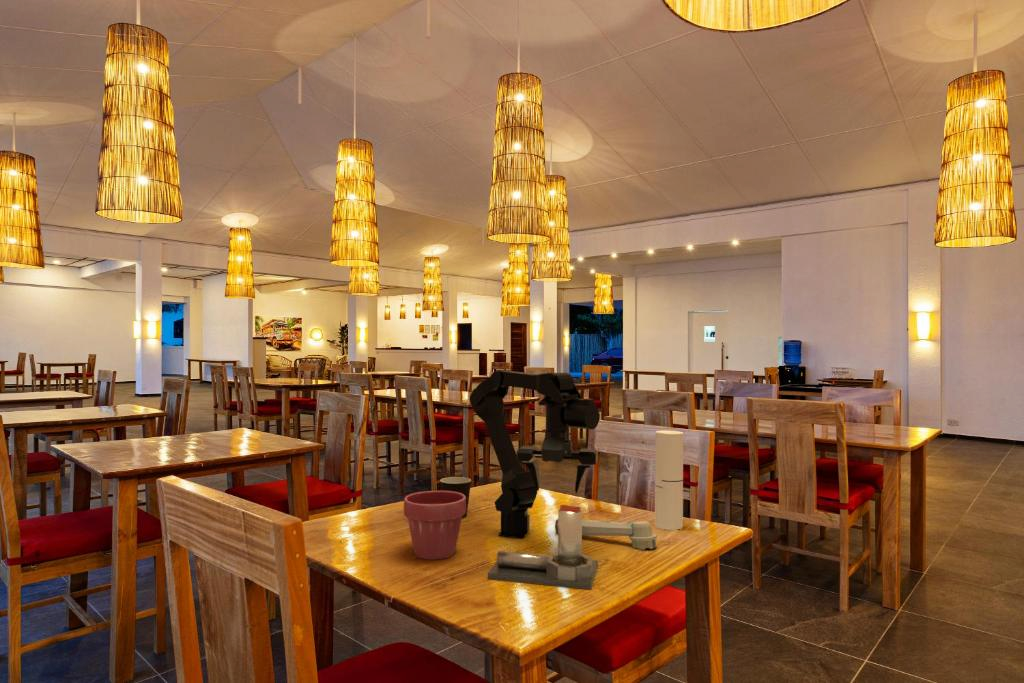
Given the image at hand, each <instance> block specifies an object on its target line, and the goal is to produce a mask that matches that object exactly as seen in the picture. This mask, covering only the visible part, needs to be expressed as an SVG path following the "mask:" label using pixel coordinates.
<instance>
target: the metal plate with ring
mask: <svg viewBox="0 0 1024 683" xmlns="http://www.w3.org/2000/svg"><path fill="white" fill-rule="evenodd" d="M557 561H558V553H554V554H543V553H542V554H539V553H528V552H518V551H516V552H515V551H509V550H508V551H507V550H498V552H497V556H496V562H495V563H494V565H492V566H491V568H490V569H489V571H487V579H488V580H495V581H496V580H497V581H503V582H513V581H514V583H522V582H523V583H522V584H532V583H533V585H541V584H544V585H543V586H552V587H562V588H571V589H572V588H573V589H578V590H579V589H582V590H592V587H593V584H594V581H595V577H596V573H597V570H598V567H599V560H595V559H594V558H593V557H590V556H587V555H586V554H584V553H582V563H583V565H580V566H575V567H574V566H564V565H559V564H557V563H556V562H557Z"/></svg>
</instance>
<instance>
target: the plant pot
mask: <svg viewBox="0 0 1024 683" xmlns="http://www.w3.org/2000/svg"><path fill="white" fill-rule="evenodd" d="M465 513H466V497H465V495H464V494H462V493H458V492H453V491H441V490H426V491H418V492H413V493H410V494H407V495H406V496H405V497H404V500H403V515H404V516H405V517H406V518H407V520H408V529H409V532H410V537H411V542H412V547H413V551H414V552H413V553H414V555H415V556H416V557H417V558H420V559H423V560H424V559H425V560H441V559H442V560H443V559H447V558H450V557H452V556H454V555H455V553H456V548H457V543H458V538H459V533H460V530H461V525H462V516H463V515H465Z"/></svg>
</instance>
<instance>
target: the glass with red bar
mask: <svg viewBox="0 0 1024 683" xmlns="http://www.w3.org/2000/svg"><path fill="white" fill-rule="evenodd" d="M557 516H558V518H557V520H558V534H557V554H558V561H557V562H556V563H557V564H559V565H564V566H574V567H575V566H580V565H583V563H582V554H583V551H582V550H583V549H582V548H583V547H582V546H583V545H582V544H583V543H582V542H583V535H582V520H583V510H582V509H581V506H579V507H578V506H574V505H573V506H572V505H567V504H561V505H560V506H559V508H558V515H557Z"/></svg>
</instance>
